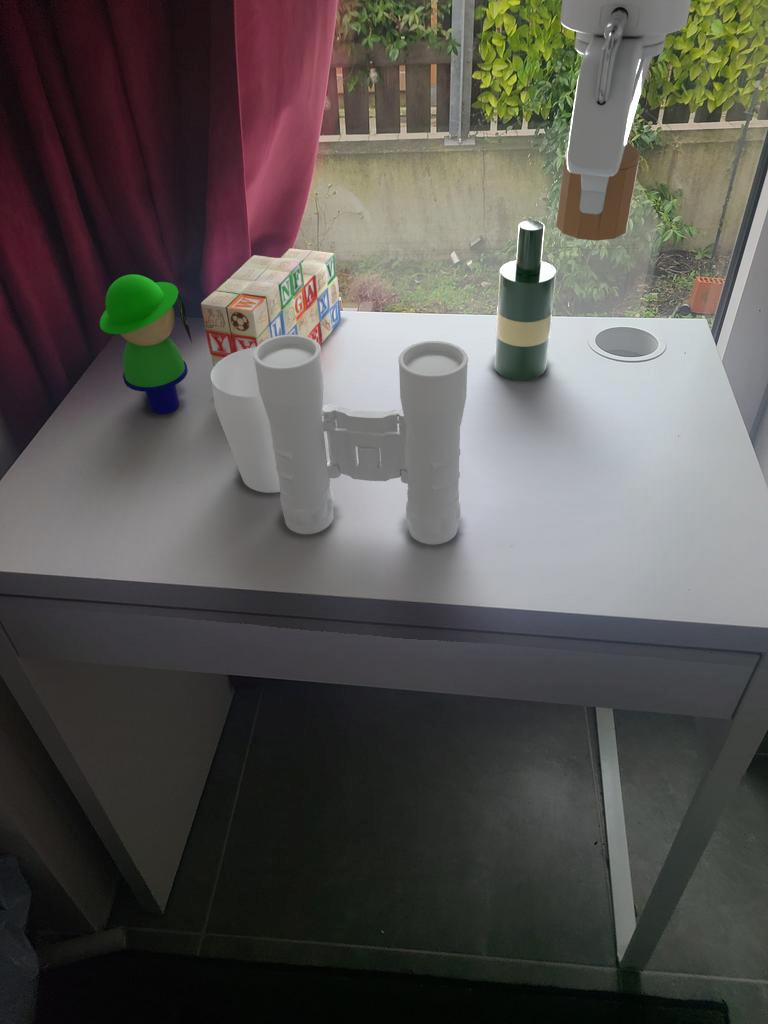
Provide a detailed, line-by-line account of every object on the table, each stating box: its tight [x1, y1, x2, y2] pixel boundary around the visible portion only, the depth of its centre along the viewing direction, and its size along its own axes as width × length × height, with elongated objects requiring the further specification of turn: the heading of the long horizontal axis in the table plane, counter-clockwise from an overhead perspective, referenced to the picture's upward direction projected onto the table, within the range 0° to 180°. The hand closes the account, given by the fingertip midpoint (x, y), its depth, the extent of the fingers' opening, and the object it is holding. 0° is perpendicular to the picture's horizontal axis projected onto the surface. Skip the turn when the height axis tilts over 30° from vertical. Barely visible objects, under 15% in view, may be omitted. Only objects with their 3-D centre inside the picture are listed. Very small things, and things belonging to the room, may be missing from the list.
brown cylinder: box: [555, 143, 641, 242], centre depth 66 cm, size 6×6×6 cm
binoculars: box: [253, 335, 469, 545], centre depth 70 cm, size 17×5×18 cm, turn 81°
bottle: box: [493, 220, 557, 381], centre depth 90 cm, size 6×6×17 cm
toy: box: [99, 274, 193, 416], centre depth 88 cm, size 9×9×15 cm
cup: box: [210, 347, 280, 494], centre depth 78 cm, size 9×9×12 cm
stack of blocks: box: [200, 248, 342, 367], centre depth 95 cm, size 21×6×12 cm, turn 160°
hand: (596, 194), depth 66 cm, fingers closed on brown cylinder, 6 cm apart
